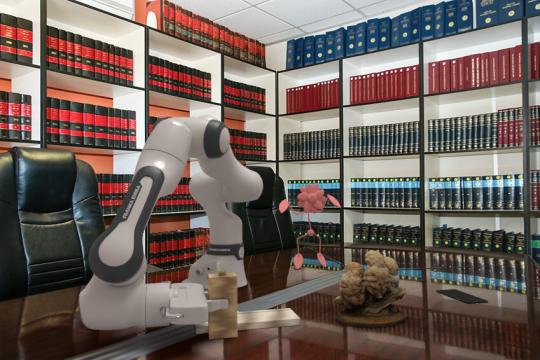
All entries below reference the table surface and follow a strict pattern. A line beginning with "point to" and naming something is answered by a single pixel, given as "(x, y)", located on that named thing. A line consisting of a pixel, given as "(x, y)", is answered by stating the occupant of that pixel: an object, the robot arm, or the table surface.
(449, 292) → the smartphone
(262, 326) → the board
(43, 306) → the table surface
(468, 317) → the table surface
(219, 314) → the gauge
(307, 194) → the figurine
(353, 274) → the carved stone sculpture
